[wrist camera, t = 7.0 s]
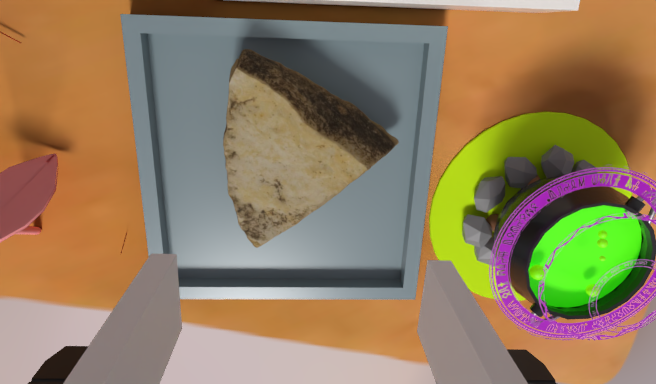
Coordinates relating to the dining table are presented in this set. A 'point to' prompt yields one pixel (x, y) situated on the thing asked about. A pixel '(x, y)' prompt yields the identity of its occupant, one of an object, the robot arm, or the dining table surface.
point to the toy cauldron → (547, 222)
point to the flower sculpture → (26, 194)
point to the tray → (209, 160)
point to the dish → (453, 4)
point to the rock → (290, 145)
